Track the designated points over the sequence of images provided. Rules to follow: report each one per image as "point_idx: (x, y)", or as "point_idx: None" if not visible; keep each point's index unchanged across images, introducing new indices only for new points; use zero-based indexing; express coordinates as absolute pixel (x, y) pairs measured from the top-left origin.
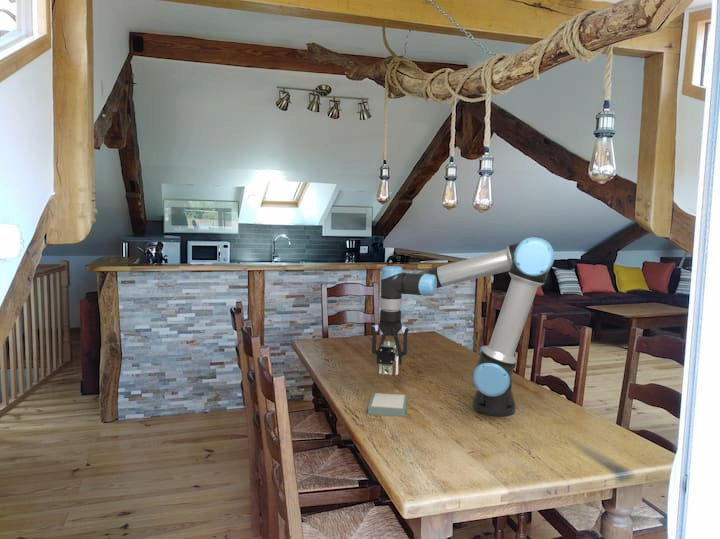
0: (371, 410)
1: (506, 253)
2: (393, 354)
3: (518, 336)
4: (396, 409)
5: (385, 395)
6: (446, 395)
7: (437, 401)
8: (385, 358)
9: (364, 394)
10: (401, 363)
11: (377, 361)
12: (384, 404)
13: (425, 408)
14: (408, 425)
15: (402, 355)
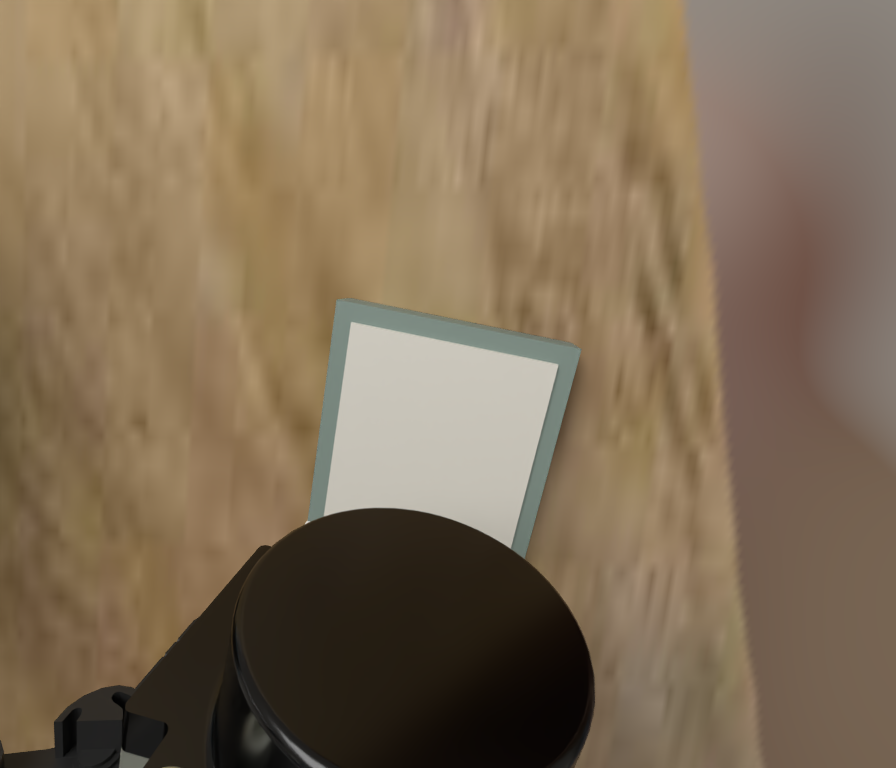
0: (554, 342)
1: None
2: (191, 683)
3: None
4: (394, 310)
5: None
6: (105, 597)
7: (155, 518)
8: (437, 572)
9: None
10: (189, 627)
11: None
12: (466, 381)
13: (226, 421)
14: (342, 158)
15: (58, 755)
